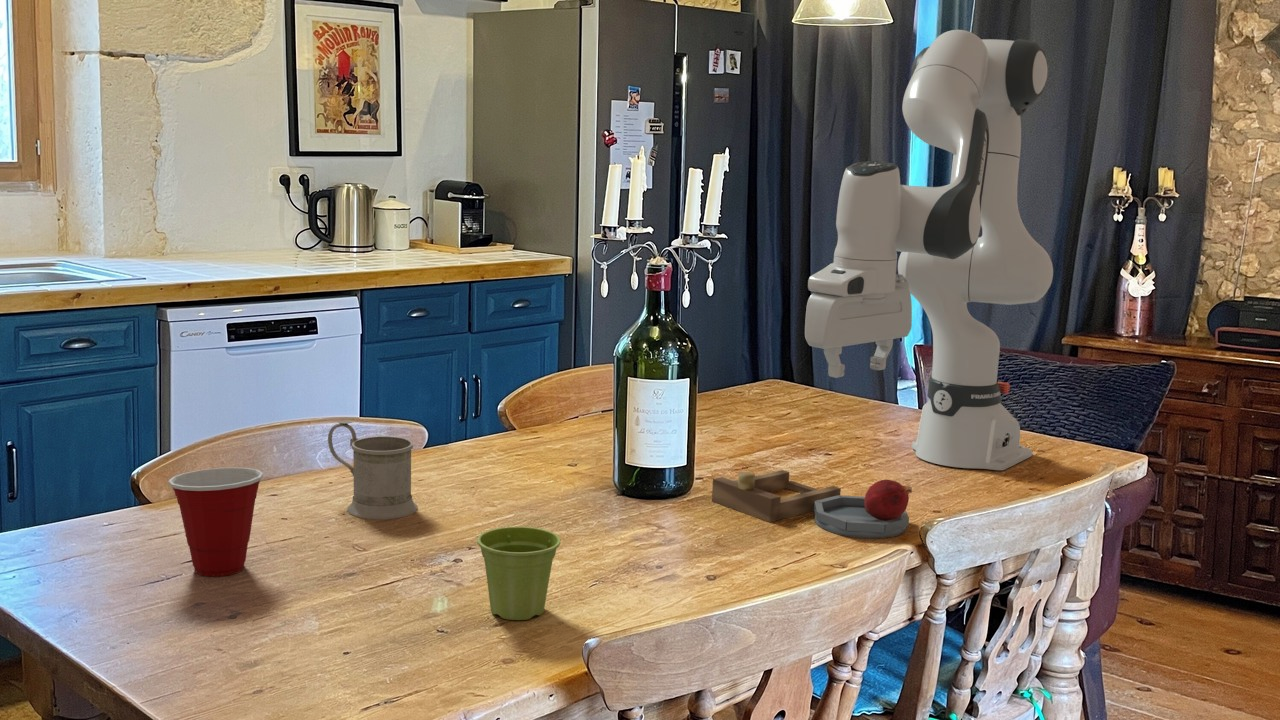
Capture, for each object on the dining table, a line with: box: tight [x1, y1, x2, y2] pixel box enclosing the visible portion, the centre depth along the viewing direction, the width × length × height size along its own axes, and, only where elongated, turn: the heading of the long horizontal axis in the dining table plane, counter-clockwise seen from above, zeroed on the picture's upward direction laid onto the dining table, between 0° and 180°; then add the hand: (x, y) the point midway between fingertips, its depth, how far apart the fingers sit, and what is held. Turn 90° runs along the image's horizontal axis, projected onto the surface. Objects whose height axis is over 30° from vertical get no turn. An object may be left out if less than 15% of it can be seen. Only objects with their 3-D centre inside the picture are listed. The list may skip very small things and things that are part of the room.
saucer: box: [813, 494, 910, 540], centre depth 176 cm, size 13×13×2 cm
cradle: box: [711, 469, 842, 523], centre depth 184 cm, size 16×12×6 cm
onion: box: [864, 479, 913, 521], centre depth 173 cm, size 6×6×8 cm
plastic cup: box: [167, 467, 264, 577], centre depth 148 cm, size 11×11×12 cm
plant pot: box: [476, 526, 561, 621], centre depth 139 cm, size 9×9×9 cm
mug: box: [327, 419, 418, 521], centre depth 174 cm, size 14×10×12 cm
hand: (857, 372), depth 175 cm, fingers open, 8 cm apart
